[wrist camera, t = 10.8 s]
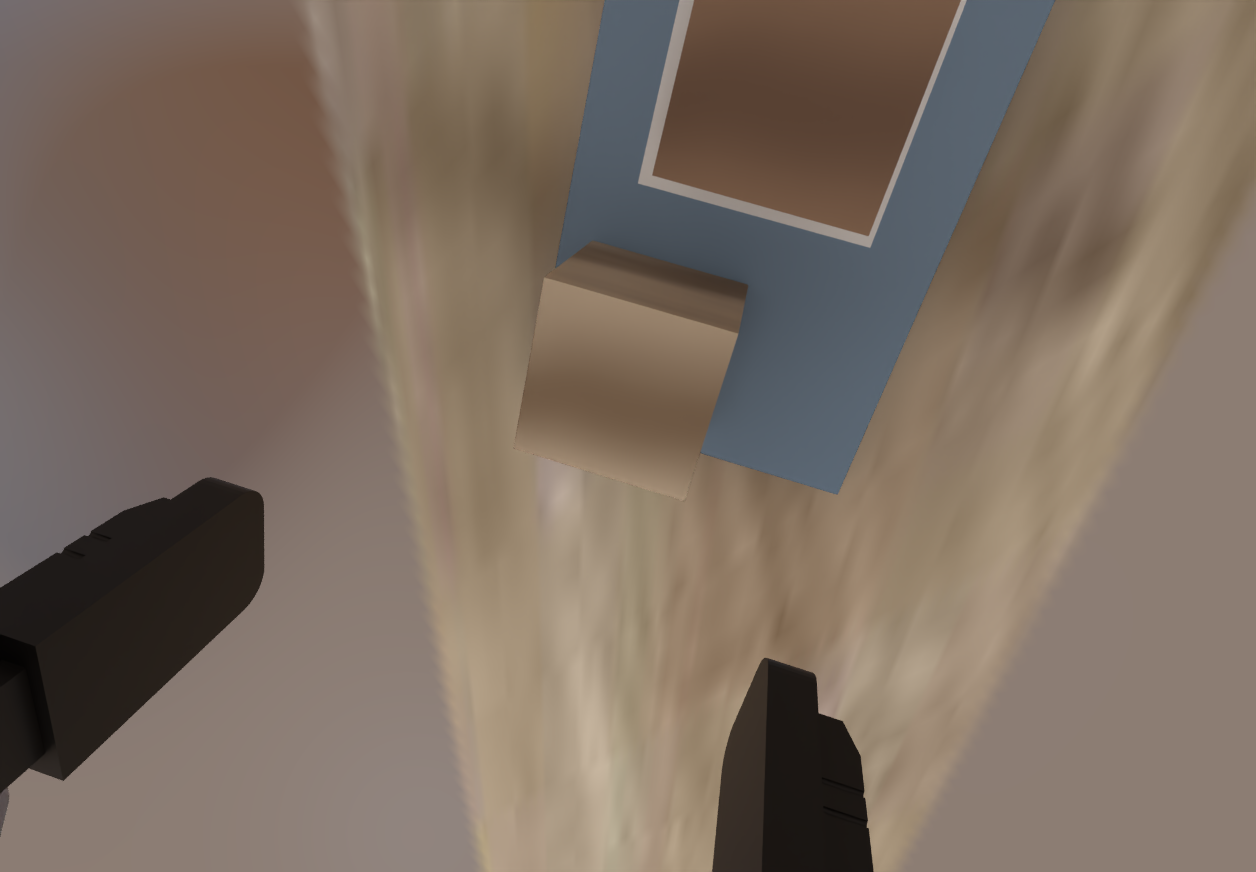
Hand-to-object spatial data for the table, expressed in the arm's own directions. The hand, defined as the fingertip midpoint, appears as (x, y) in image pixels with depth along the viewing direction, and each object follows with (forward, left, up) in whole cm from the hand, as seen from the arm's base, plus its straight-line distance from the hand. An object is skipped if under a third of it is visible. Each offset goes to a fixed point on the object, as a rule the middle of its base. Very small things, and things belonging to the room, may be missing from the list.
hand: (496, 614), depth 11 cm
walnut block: (-8, +2, -14) cm, 16 cm away
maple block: (0, 0, -14) cm, 14 cm away
